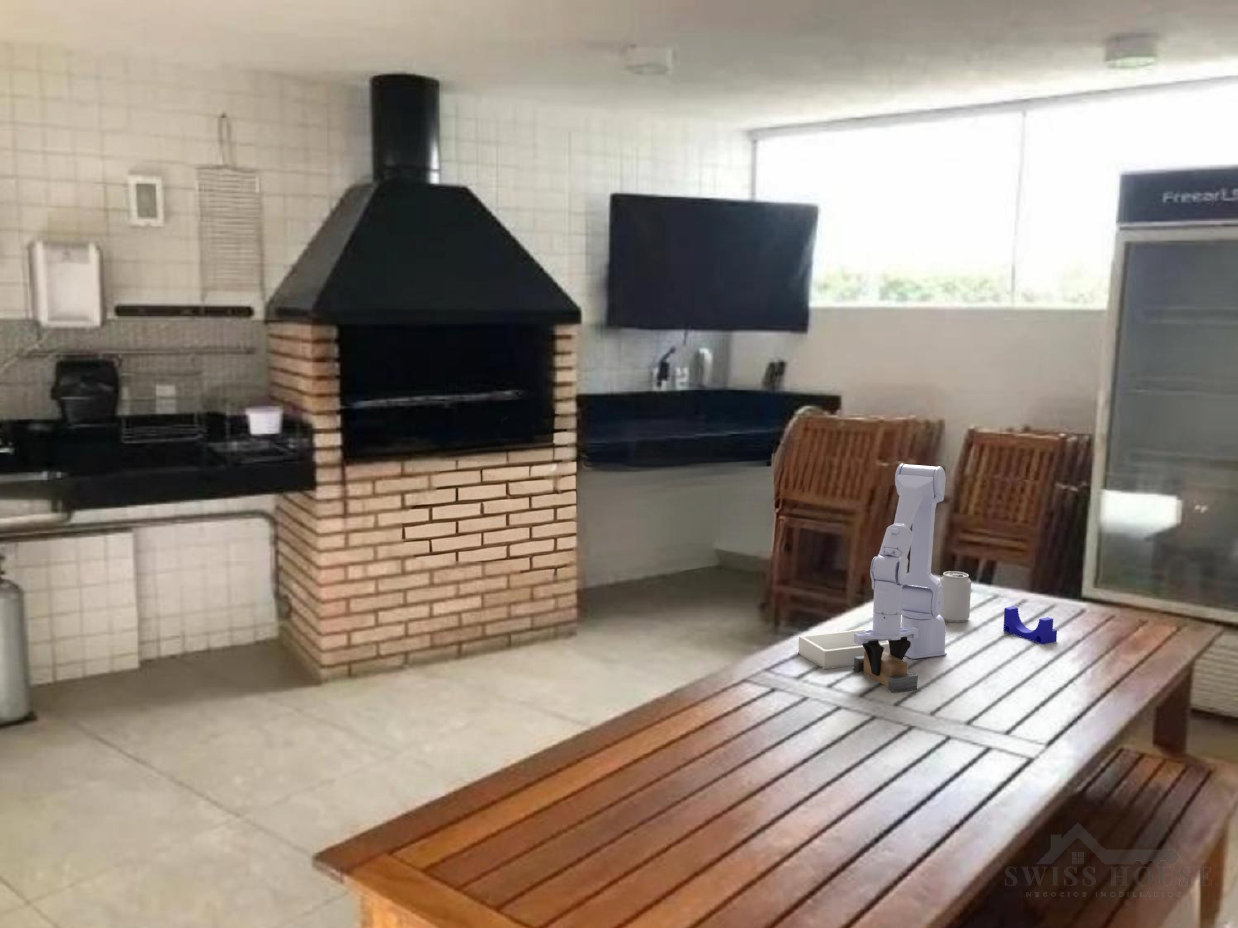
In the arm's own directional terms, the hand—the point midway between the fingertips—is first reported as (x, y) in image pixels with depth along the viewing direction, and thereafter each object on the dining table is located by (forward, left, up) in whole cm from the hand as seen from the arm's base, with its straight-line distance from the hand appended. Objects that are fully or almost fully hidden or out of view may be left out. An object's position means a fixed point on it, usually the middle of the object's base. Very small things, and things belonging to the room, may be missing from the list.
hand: (885, 673), depth 223 cm
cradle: (0, 0, -1) cm, 1 cm away
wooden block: (0, 0, -1) cm, 1 cm away
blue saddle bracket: (-50, -15, -2) cm, 52 cm away
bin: (0, -16, -1) cm, 16 cm away
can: (-42, -33, -2) cm, 53 cm away
